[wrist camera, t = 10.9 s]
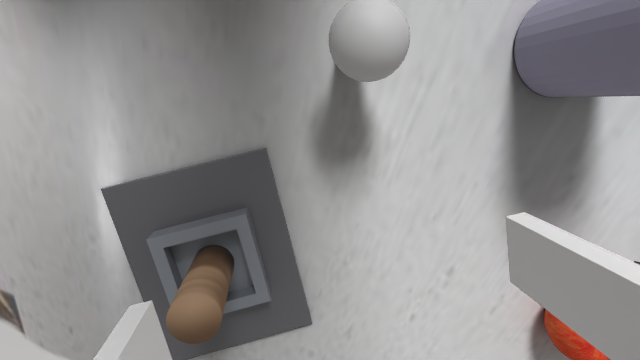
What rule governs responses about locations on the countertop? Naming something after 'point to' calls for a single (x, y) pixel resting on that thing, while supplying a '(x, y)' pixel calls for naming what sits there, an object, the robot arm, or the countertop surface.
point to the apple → (570, 340)
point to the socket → (213, 229)
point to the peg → (201, 296)
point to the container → (580, 48)
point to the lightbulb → (369, 39)
